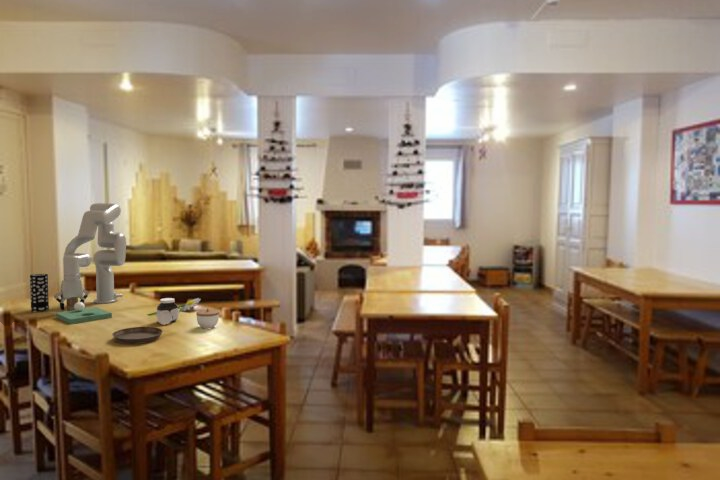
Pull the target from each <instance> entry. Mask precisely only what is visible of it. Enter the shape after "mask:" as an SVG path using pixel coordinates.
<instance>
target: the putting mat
mask: <svg viewBox="0 0 720 480" xmlns="http://www.w3.org/2000/svg"><path fill="white" fill-rule="evenodd" d="M55 318H56V319H58V320H61V321H63V322H65V323H67V324H69V325H73V324H81V323H86V322H94V321H99V320H105V319H112V318H113V313H112V312H111V311H109V310H108V311H107V310H104V309H103V308H102V309H101V308H99V307H89V308H88V307H87V308H84V309H83V310H82V311H76V310H74V311H67V310H66V311H60V312H56V313H55Z"/></svg>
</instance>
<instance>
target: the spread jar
mask: <svg viewBox="0 0 720 480" xmlns="http://www.w3.org/2000/svg"><path fill="white" fill-rule="evenodd" d="M159 302H160V303H159V304H158V305H157V307H156V312H157V314H156V319H157V322H158V323H159V324H160V325H163V326H167V325H169V324H171V323H170V322H172V323H174V322H176V321H177V320H178V318H179V309H178V304H177V303H175V302H176V301H175V298H174V297H173V298H172V297H165V298H161V299H159ZM166 324H167V325H166Z"/></svg>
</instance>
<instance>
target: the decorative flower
mask: <svg viewBox="0 0 720 480" xmlns="http://www.w3.org/2000/svg"><path fill="white" fill-rule="evenodd" d="M200 301H201V298H199V297H197V298H194V299H192V300H190V301H187V302H186V303H184V304H183V305H179V306H178V305H177V306H178V310H179V312H182V313H183V312H186V311H190V308H193V307H196V306H197V304H199V303H200ZM147 315H149V316H152V315H157V311H155V312H151V313H148V314H147Z"/></svg>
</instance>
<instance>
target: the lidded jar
mask: <svg viewBox="0 0 720 480" xmlns="http://www.w3.org/2000/svg"><path fill="white" fill-rule="evenodd" d="M195 314H196V321H197V324H198V325H199V326H200V328H201V327H202V328H201V329H203V328H210V329H214V328H215V326H217V324H218V322H219V316H220V311H219V310H218V309H209V308H206V309H201V310H198V311H196V313H195ZM213 327H214V328H213Z"/></svg>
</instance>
